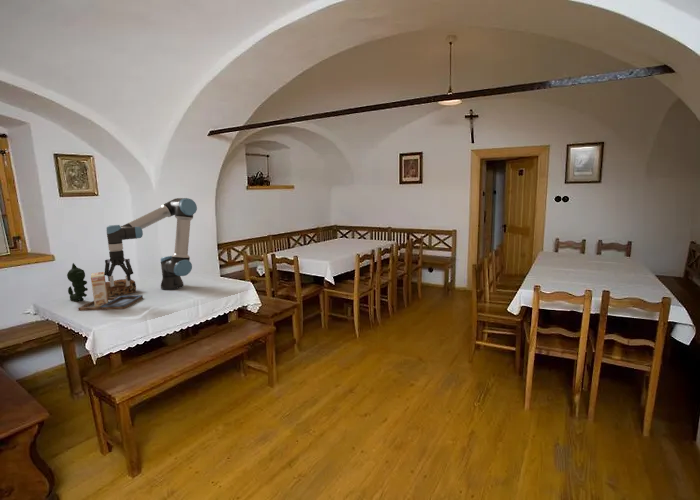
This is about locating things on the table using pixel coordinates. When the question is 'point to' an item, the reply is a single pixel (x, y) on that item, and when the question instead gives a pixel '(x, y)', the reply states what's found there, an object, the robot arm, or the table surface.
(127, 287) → the bread
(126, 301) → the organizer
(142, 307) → the table surface
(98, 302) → the coffeecake box
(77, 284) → the toy figurine
